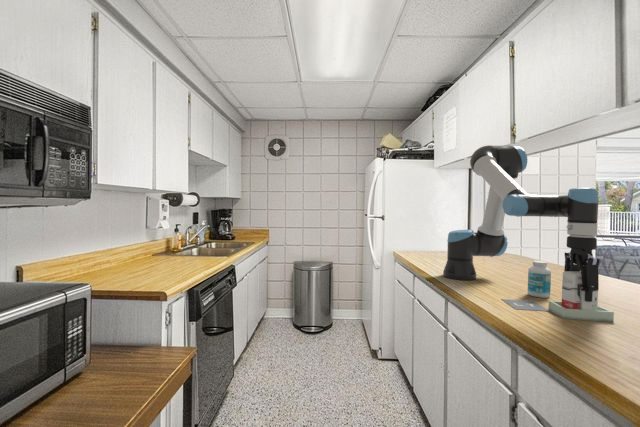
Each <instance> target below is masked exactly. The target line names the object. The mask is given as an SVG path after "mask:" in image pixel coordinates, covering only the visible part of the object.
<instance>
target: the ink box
mask: <svg viewBox="0 0 640 427" xmlns="http://www.w3.org/2000/svg"><path fill="white" fill-rule="evenodd" d="M599 277H600V276H599V274H598V279H599ZM561 287H562V288H561V301H562V307H564V308H567V309H580V307H581V289H583V285H582V275H581V272H578V271H563V272H562V284H561ZM598 295H599V290H598V291H593V294H592V310H597V305H598V306H599V304H598V302H599V301H598V300H599V299H598V298H599V296H598Z"/></svg>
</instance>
